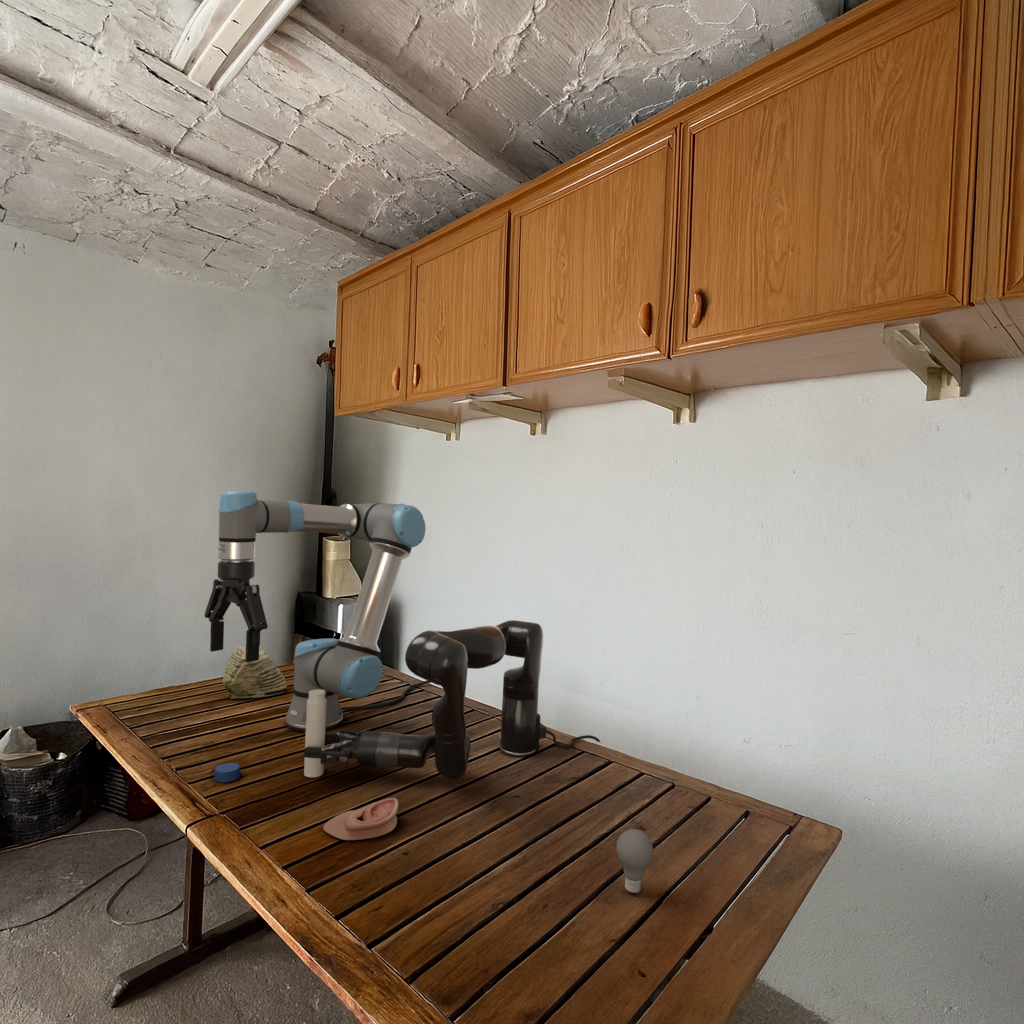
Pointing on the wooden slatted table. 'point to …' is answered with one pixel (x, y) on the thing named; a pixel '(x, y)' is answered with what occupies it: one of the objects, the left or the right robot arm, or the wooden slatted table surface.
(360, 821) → the anatomical model
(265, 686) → the fossil
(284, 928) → the wooden slatted table surface
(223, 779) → the lid
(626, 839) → the light bulb
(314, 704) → the white bottle
